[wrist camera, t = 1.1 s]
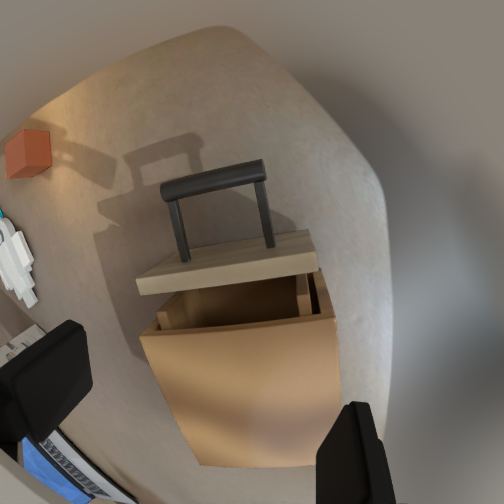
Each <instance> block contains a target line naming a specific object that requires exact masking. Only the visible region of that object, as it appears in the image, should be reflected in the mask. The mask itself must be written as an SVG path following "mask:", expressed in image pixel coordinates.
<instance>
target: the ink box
mask: <svg viewBox="0 0 504 504" xmlns="http://www.w3.org/2000/svg"><path fill="white" fill-rule="evenodd" d="M45 335H46V334H45V333H44V332H43V331H42V330H41V329H40V328H39V327H38V326H37V325H36V324H34V325H33V326H31V327H30V328H28V329H27V330H25V331H24V332H22V333H21V334H19V335H18V336H16V337H15V338H14V339H12V340H11V341H9V342H8V343H7V344H5V345H4V346H2V347H1V348H0V367H2V366H3V365H4V364H6V363H7V362H8V361H10V360H11V359H12V358H14V357H15V356H16V355H18V354H19V353H21V352H22V351H23V350H25V349H26V348H28V347H29V346H30V345H32V344H33V343H35V342H36V341H37V340H39V339H40V338H42V337H43V336H45Z"/></svg>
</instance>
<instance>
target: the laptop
mask: <svg viewBox="0 0 504 504" xmlns="http://www.w3.org/2000/svg"><path fill="white" fill-rule="evenodd" d="M22 443H23V460H24V469H25V470H26V471H27V472H29V473H30V474H31V475H33V476H34V477H35V478H36V479H38V480H39V481H40V482H42V483H43V484H45V485H46V486H47V487H49V488H50V489H52V490H53V491H55V492H56V493H58V494H59V495H61V496H62V497H64V498H65V499H67V500H68V501H70V502H72V503H73V504H87V503H89V502H90V501H91V500H93V499H95V498H96V497H97V498H102V499H106V500H112V501H117V502H122V503H128V504H139V502H138V501H137V500H136V499H134V498H133V497H132V496H130V495H129V494H128V493H126V492H125V491H124V490H123V489H121V488H120V487H119V486H118V485H116V484H115V483H114V482H113V481H112V480H110V479H109V478H108V477H107V476H106V475H104V474H103V473H102V472H101V471H100V470H99V469H98V468H97V467H95V466H94V465H93V464H92V463H91V462H90V461H89V460H88V459H87V458H86V457H85V456H84V455H83V454H82V453H81V452H80V451H79V450H78V449H77V448H76V447H75V446H74V445H73V444H72V443H71V442H70V441H69V440H68V439H67V438H66V436H65V435H64V434H63V433H62V432H61V431H60V430H59V429H58V428H56V429H55V430H54V431H53V432H52V434H51V435H50V436H49V437H48V438H47V439H46V440H45V441H44V442H40V443H39V444H38V445H37V446H36V445H35V444H33V443H32V442H31V441H30V440H28V439H27V438H26V437H25V438H24V439H23V440H22ZM45 450H46V451H45ZM64 469H65V470H64ZM76 480H77V481H76ZM95 496H96V497H95Z"/></svg>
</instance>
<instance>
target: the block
mask: <svg viewBox="0 0 504 504" xmlns="http://www.w3.org/2000/svg"><path fill="white" fill-rule="evenodd" d="M5 156H6V171H7V179H13V178H26V177H33V176H35V175H36V174H38V173H40V172H41V171H43V170H45V169H47V168H48V167H50V166H52V160H51V149H50V137H49V132H46V131H37V130H27V129H23V130H22V131H21V132H20V133H18V134H17V135H16V136H15V137H13V138H12V139H11V140H10V141H9V142H7V143H6V144H5Z"/></svg>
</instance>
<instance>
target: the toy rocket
mask: <svg viewBox="0 0 504 504" xmlns="http://www.w3.org/2000/svg"><path fill="white" fill-rule="evenodd" d="M33 261H34V258H33V256H32V254H31V252H30V250H29V247H28V245H27V243H26V240H25V238H24V236H23V233H22V231H17V232H16V231H15V228H14V226H13V224H12V223H11V221H10V220H9V219H7V218H3V215H2V212H1V209H0V276H1V278H2V280H3V283H4V285H5V287H6V289H7V290H9V289H10V290H13V289H14V291H15V293H16V295H17V297H18V299H19V300H20V299H22V298H23V299H24V301H25V303H26V305H27V307H28V309H29V308H31V307H32V306H33V305H34V304H35V303H36V302H38V300H37V298H36V296H35V294H34V292H33V290H32V288H33V287H34V286H35V283H34V281H33V279H32V277H31V275H30V272H31V270H32V268H31V266H30V265H32V263H33Z"/></svg>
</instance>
